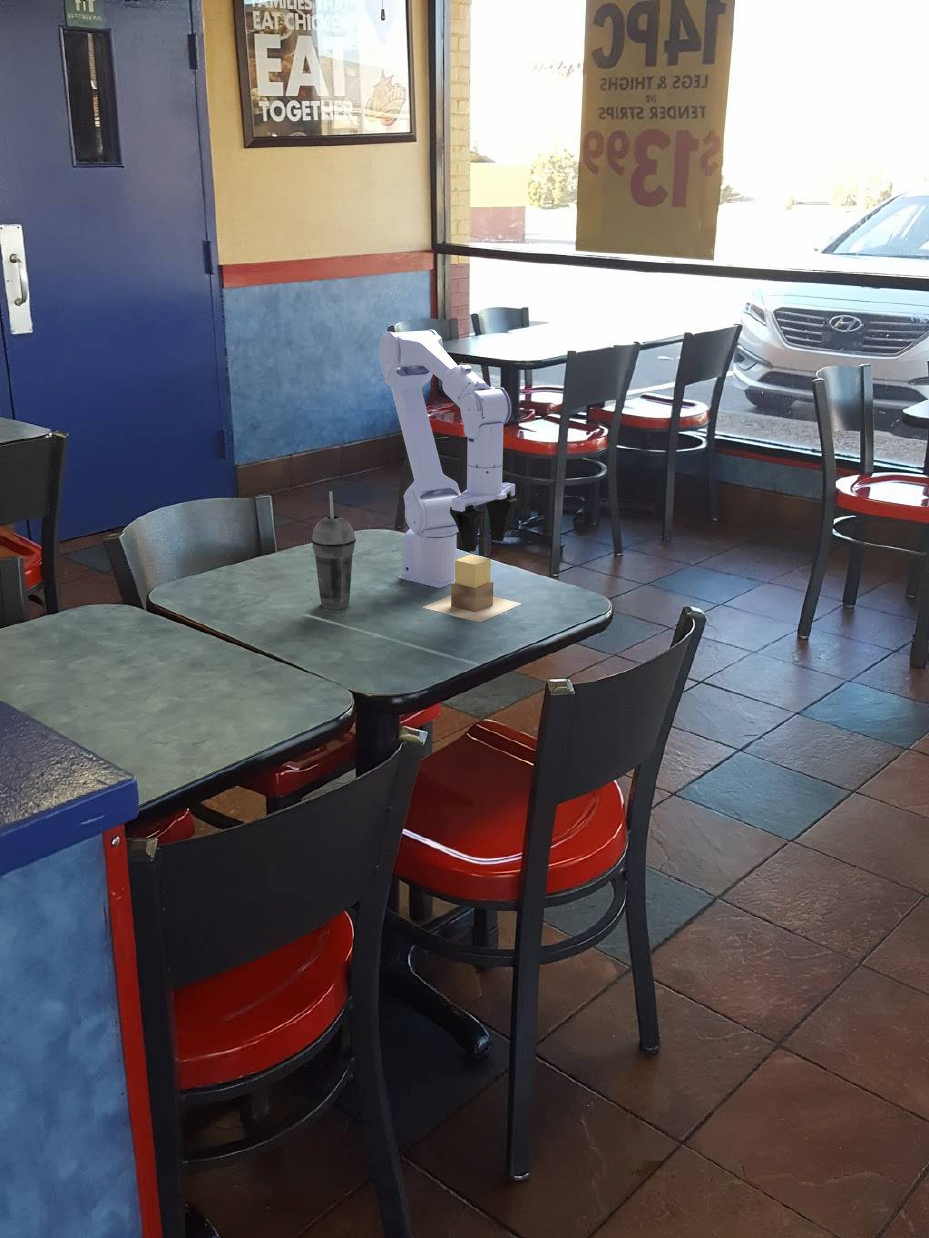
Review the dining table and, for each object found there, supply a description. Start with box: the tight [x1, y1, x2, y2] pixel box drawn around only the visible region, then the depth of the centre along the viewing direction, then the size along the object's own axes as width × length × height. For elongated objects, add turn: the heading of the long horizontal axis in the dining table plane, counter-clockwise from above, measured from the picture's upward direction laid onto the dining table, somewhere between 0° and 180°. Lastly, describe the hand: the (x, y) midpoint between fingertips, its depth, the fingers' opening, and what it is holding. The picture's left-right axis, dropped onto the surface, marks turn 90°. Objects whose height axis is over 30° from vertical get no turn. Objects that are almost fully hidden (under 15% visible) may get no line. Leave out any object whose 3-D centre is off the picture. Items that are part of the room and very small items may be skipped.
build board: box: [421, 594, 522, 624], centre depth 201 cm, size 12×12×1 cm
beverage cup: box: [311, 490, 357, 610], centre depth 197 cm, size 7×7×20 cm
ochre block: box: [455, 554, 492, 588], centre depth 199 cm, size 4×4×4 cm
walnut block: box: [450, 580, 494, 612], centre depth 200 cm, size 5×5×4 cm
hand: (483, 545), depth 199 cm, fingers open, 7 cm apart
